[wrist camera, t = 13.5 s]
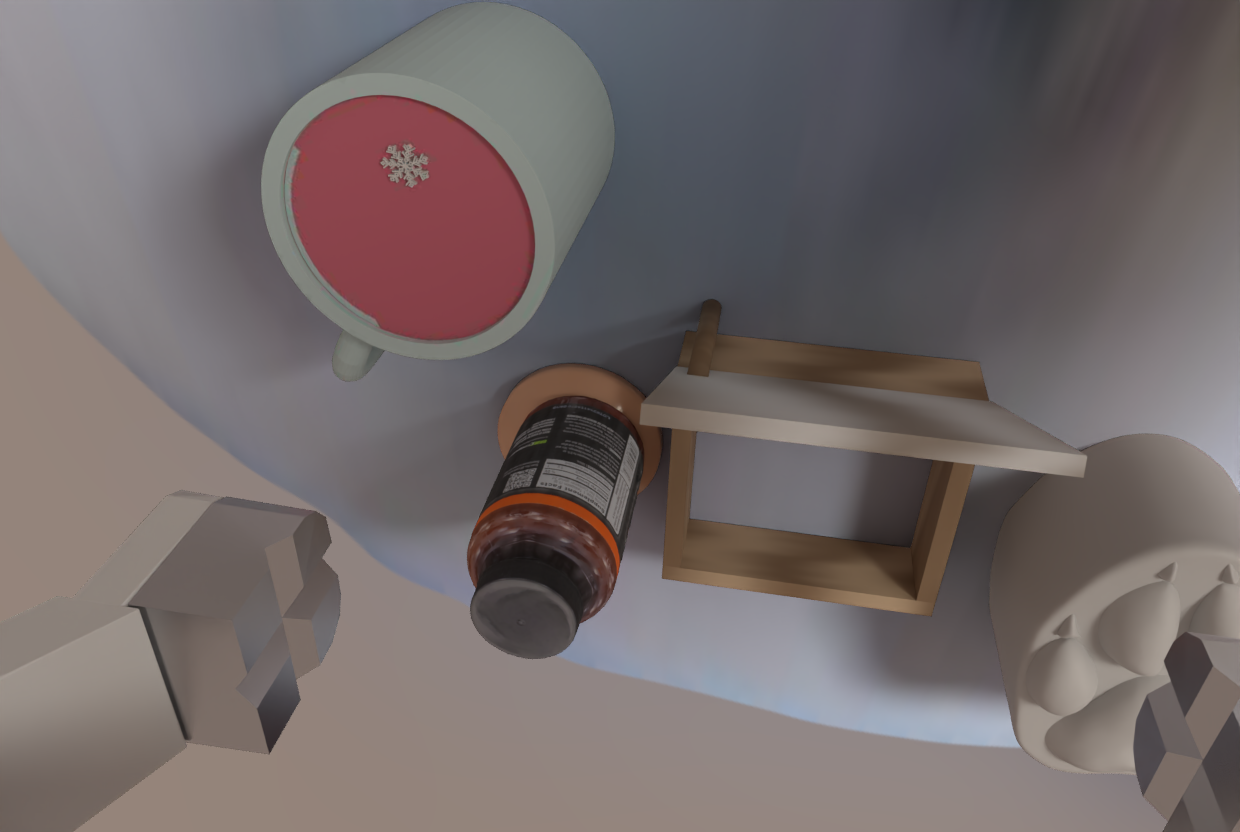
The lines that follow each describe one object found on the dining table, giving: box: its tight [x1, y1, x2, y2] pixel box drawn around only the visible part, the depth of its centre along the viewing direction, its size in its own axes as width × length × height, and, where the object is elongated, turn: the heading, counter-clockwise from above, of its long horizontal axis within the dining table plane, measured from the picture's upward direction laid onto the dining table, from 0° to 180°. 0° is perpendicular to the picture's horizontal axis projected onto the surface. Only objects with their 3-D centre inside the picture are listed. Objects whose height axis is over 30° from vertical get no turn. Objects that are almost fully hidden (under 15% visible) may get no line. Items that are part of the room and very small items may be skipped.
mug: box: [261, 2, 615, 382], centre depth 35 cm, size 14×9×10 cm
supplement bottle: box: [467, 396, 644, 659], centre depth 40 cm, size 6×6×11 cm
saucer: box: [498, 363, 663, 495], centre depth 45 cm, size 8×8×1 cm
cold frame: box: [639, 299, 1087, 616], centre depth 36 cm, size 12×16×14 cm
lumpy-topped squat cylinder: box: [989, 434, 1240, 775], centre depth 40 cm, size 10×13×9 cm
